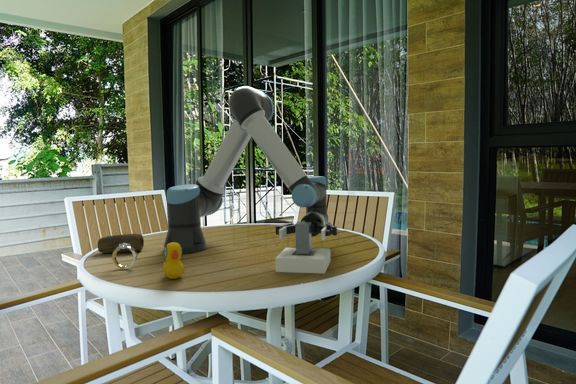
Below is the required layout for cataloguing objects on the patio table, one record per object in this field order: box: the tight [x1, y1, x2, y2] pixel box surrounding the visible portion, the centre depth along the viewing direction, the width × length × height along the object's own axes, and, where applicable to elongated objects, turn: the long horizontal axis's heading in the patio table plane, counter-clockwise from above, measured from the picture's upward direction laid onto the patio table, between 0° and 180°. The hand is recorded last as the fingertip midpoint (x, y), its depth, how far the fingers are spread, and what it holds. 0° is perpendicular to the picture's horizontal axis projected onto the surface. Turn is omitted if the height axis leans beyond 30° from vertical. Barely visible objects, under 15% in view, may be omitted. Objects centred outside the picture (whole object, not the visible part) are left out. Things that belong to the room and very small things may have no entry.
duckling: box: [162, 242, 185, 280], centre depth 112 cm, size 11×5×10 cm, turn 22°
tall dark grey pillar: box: [294, 221, 313, 256], centre depth 121 cm, size 4×4×13 cm
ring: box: [111, 243, 138, 270], centre depth 122 cm, size 7×3×8 cm, turn 83°
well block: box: [274, 247, 331, 274], centre depth 121 cm, size 14×14×4 cm
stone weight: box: [97, 233, 145, 254], centre depth 147 cm, size 15×7×7 cm, turn 103°
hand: (301, 235), depth 117 cm, fingers open, 11 cm apart
